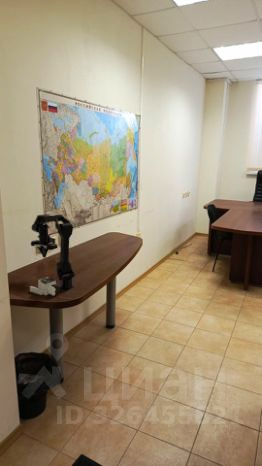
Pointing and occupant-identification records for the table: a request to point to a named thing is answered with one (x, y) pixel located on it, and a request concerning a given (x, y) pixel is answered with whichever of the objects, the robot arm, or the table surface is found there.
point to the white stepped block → (48, 286)
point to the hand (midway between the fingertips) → (44, 257)
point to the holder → (36, 290)
